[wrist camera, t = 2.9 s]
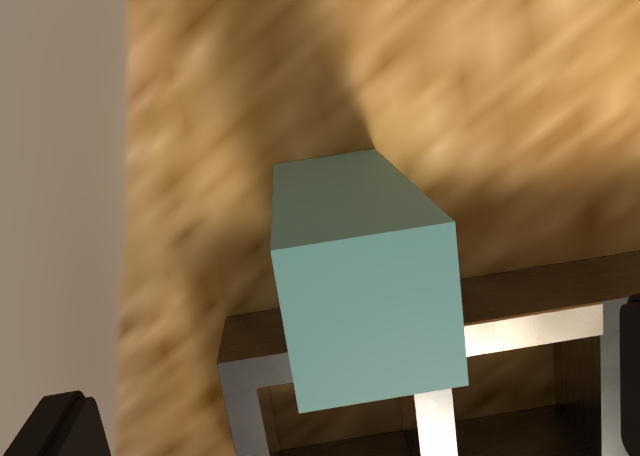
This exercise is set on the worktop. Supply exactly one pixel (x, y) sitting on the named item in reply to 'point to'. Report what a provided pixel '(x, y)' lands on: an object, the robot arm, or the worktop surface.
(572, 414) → the rail
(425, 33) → the worktop surface
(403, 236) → the peg
